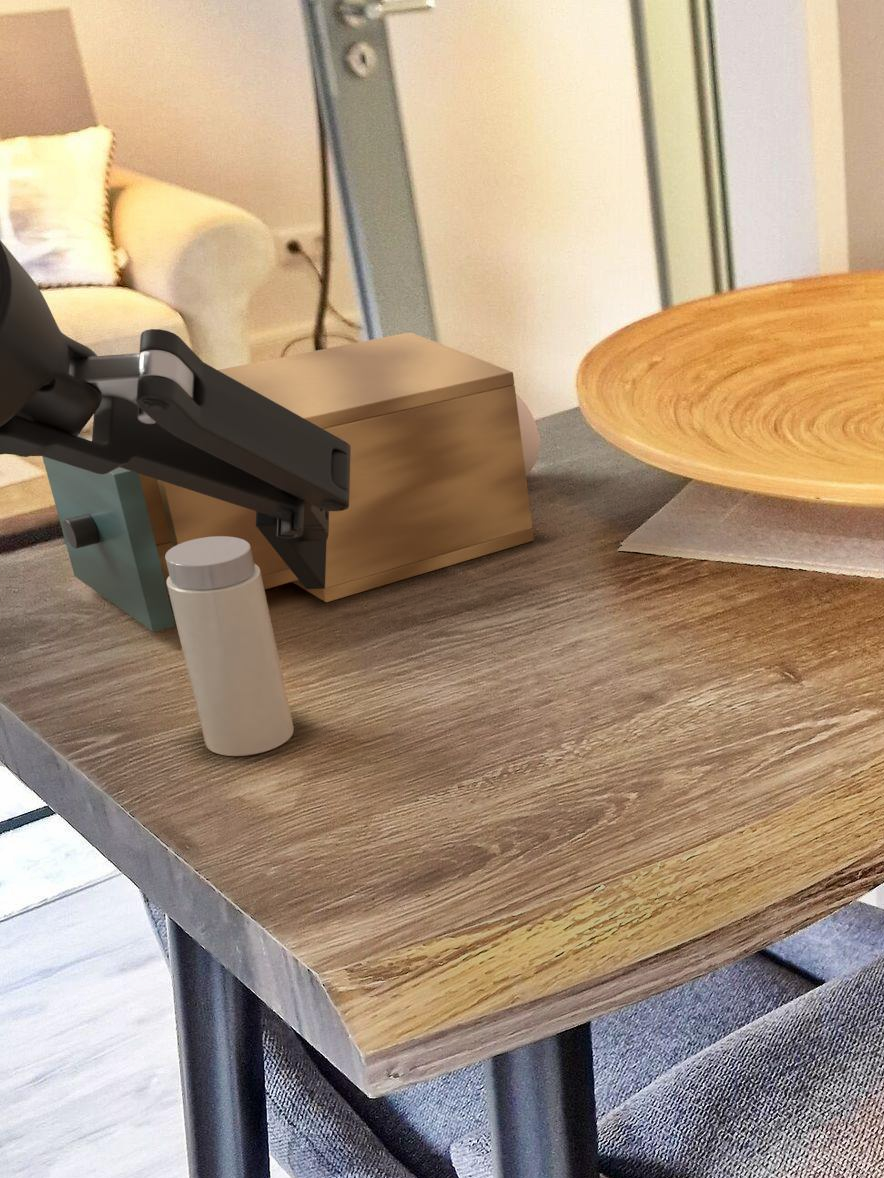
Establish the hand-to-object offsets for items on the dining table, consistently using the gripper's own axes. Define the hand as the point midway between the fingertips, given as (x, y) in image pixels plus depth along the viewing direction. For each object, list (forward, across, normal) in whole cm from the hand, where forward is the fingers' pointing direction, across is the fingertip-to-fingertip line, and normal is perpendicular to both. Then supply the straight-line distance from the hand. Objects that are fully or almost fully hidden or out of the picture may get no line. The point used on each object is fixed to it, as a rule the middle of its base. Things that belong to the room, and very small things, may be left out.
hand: (144, 563), depth 70 cm
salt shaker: (+14, 0, -3) cm, 15 cm away
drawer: (+26, -6, +10) cm, 29 cm away
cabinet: (+32, +2, +14) cm, 35 cm away
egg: (+39, +8, +21) cm, 45 cm away
